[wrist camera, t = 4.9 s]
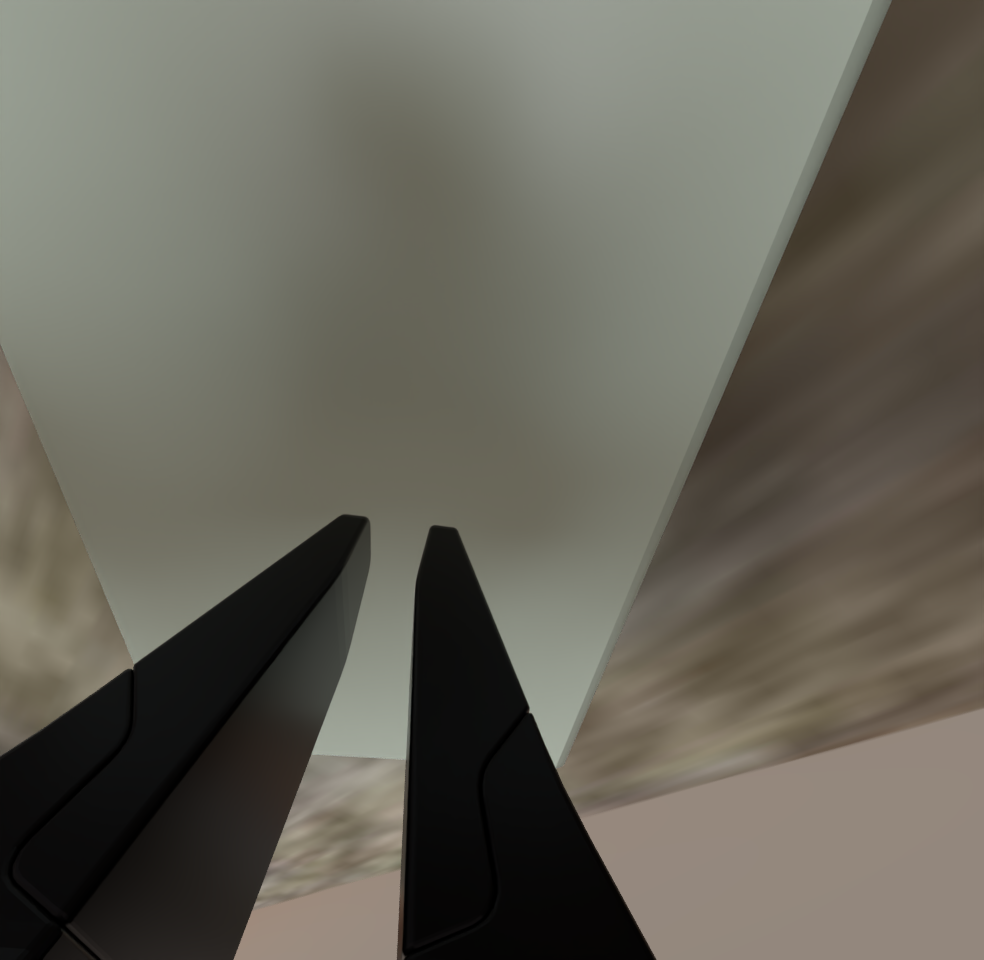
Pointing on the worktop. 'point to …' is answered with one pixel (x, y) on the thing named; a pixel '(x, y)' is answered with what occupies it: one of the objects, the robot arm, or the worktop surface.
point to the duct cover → (399, 292)
